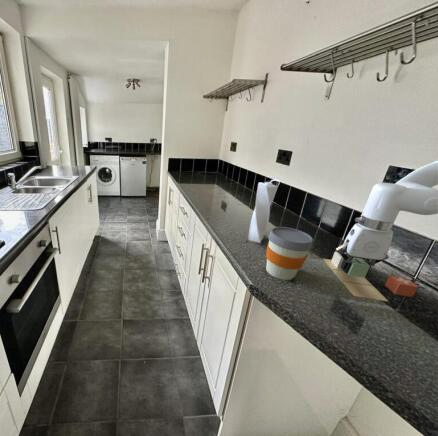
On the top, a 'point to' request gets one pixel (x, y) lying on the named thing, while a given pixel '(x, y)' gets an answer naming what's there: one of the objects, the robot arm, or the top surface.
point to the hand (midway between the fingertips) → (353, 271)
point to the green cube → (358, 268)
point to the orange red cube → (401, 286)
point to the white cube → (337, 260)
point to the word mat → (356, 284)
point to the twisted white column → (262, 210)
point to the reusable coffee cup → (287, 252)
